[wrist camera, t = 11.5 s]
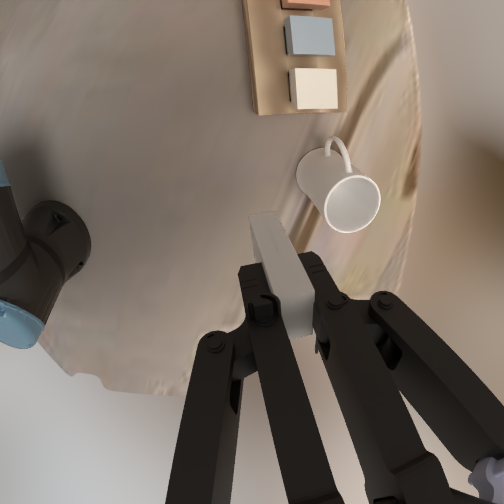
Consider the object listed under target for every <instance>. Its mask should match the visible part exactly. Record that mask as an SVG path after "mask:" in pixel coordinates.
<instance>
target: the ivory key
mask: <svg viewBox="0 0 504 504" xmlns="http://www.w3.org/2000/svg"><path fill="white" fill-rule="evenodd" d="M288 85H289V98H290V99H291V104H292V107H293V108H295V109H338V98H337V74H336V69H318V68H293V69H289V76H288Z"/></svg>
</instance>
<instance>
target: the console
mask: <svg viewBox="0 0 504 504" xmlns="http://www.w3.org/2000/svg"><path fill="white" fill-rule="evenodd" d="M242 6H243V15H244V23H245V32H246V41H247V51H248V60H249V70H250V79H251V89H252V99H253V109H254V112H255V113H256V114H257V115H259V116H261V115H274V114H289V113H316V112H347V113H348V109H347V75H346V57H345V44H344V33H343V23H342V14H341V6H340V0H330V6H329V7H328V8H326V9H324V10H315V9H307V10H306V11H305V10H281V4H280V0H242ZM290 15H293V16H311V17H323V18H332V24H333V34H334V45H335V56H329V57H322V56H288V53H286V50H285V40H284V30H285V23H284V20H285V19H286V18H287V17H288V16H290ZM293 68H318V69H336V74H337V98H338V109H295V108H293V107H292V104H291V99H290V98H289V85H288V76H289V69H293Z"/></svg>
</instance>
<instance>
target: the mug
mask: <svg viewBox="0 0 504 504" xmlns="http://www.w3.org/2000/svg"><path fill="white" fill-rule="evenodd" d="M333 140H334V141H335V142H336V143H337V145H338V147H339V149H340V151H341V154H342V157H343V158H342V157H341V156H340V155H339V154H338V153H337V152H336V151H334V150H332V149H330V146H331V142H332V141H333ZM296 179H297V183H298V185H299V187H300V188H301V190H302V191H303V192H304V193H305V194H307V195H308V197H309V198H310V199H311V201H312V202H313V203H314V205H315V206H316V207H317V209H318V210H319V212H320V213H321V214H322V216H323V217H324V219H325V220H326V221H327V223H328V224H329V225H330V226H331V227H332V228H333V229H334V230H336V231H339V232H342V233H352V232H356V231H358V230H361V229H363V228H364V227H366V226H367V225H368V224H369V223H370V222H371V221H372V220H373V219H374V217H375V216H376V214H377V212H378V210H379V207H380V201H381V197H380V191H379V188H378V186H377V185H376V183H375V182H374V181H373V180H372V179H370V178H369V177H368V176H366V175H365V174H364V173H362V172H361V171H360V170H358V169H357V168H356V167H354V166H353V165H352V164H351V163H350V159H349V155H348V152H347V150H346V147H345V145H344V144H343V142H342V141H341V140H340V139H339V138H338V137H335V136H331V137H329V138H327V140H326V142H325V146H324V148H318V149H314V150H312V151H310V152H308V153H307V154H306V155H305V156H304V157H303V158H302V159H301V161H300V162H299V164H298V167H297V171H296Z"/></svg>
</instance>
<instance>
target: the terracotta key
mask: <svg viewBox="0 0 504 504" xmlns="http://www.w3.org/2000/svg"><path fill="white" fill-rule="evenodd" d="M280 4H281V10H305V11H306V10H307V9H315V10H324V9H326V8H328V7H329V6H330V0H280Z"/></svg>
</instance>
